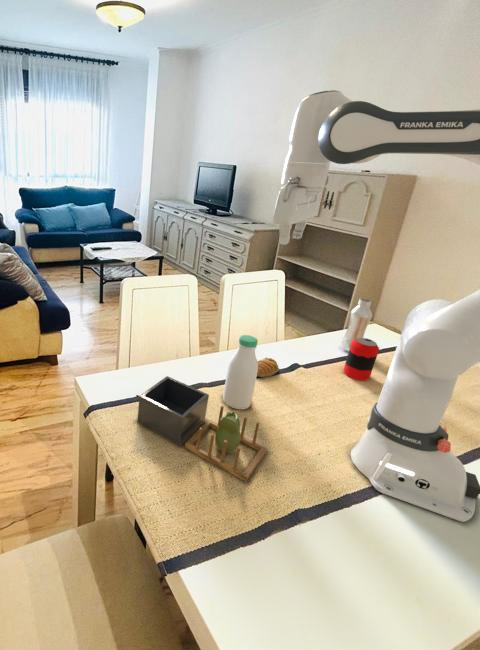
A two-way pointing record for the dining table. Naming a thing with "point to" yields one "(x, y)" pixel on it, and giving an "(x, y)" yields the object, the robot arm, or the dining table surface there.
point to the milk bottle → (241, 374)
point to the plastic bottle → (357, 323)
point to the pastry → (267, 367)
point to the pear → (228, 432)
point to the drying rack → (221, 462)
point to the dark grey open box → (172, 409)
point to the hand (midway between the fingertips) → (290, 241)
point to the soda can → (361, 359)
